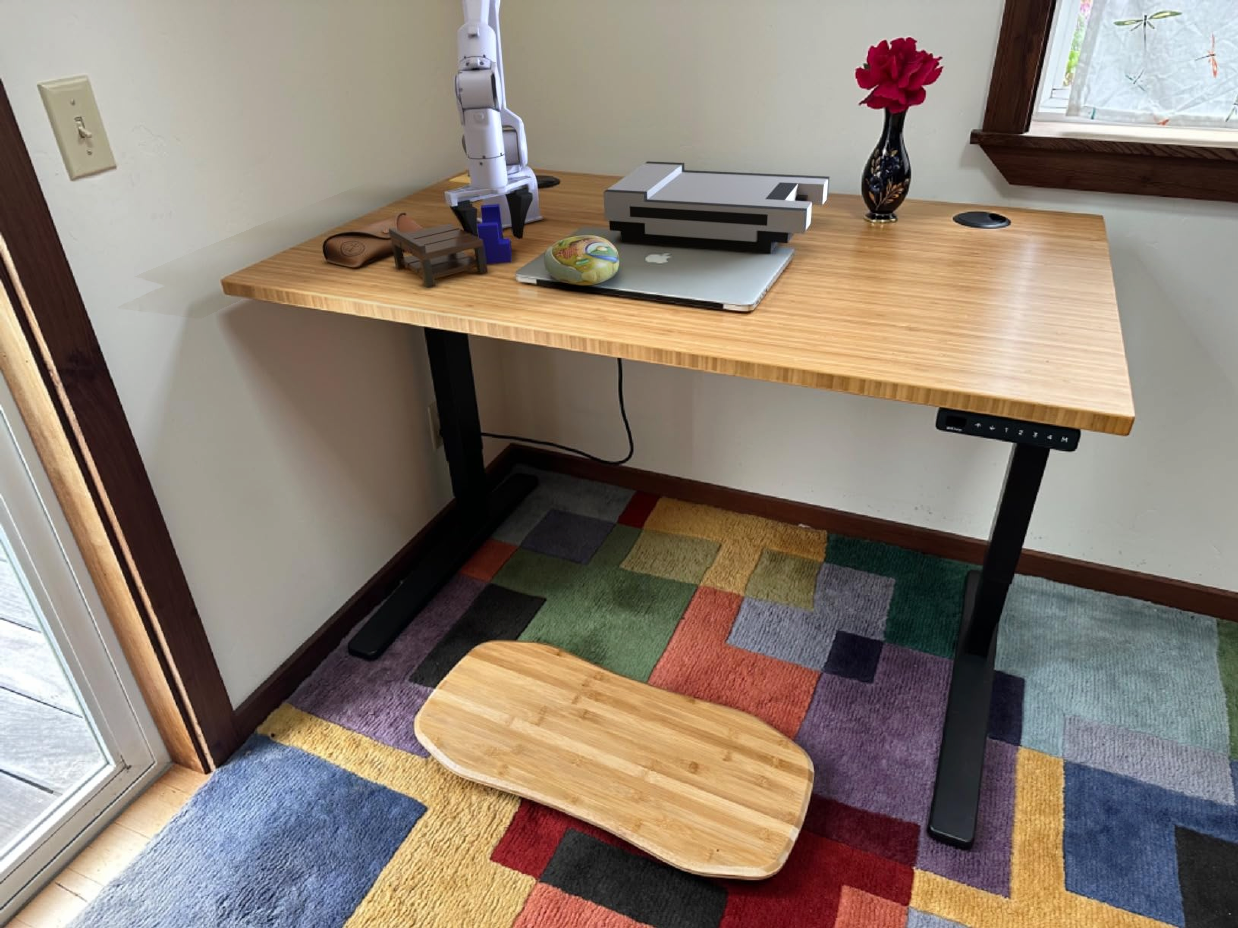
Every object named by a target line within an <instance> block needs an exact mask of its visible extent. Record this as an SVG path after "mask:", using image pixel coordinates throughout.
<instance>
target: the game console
mask: <svg viewBox="0 0 1238 928" xmlns="http://www.w3.org/2000/svg"><path fill="white" fill-rule="evenodd" d="M830 178H831V177H830V176H827V175H825V176H824V175H804V174H803V175H802V174H783V173H781V174H779V173H762V172H761V173H760V172H759V173H758V172H735V171H716V170H714V171H712V170H692V169H691V170H689V169H688V170H687V169H685V162H671V161H649V160H647V161H646V162H644V163H643V164H641V165H640V166H638V167H637V168H636V169H634V170H633V171H631V172H629V174H627V175H625V176H624V177H623V178H621V179H620V180H619V181H617V182H615V183H614V184H612V185H611V186H609V187H608V188H606V189H605V190H604V191H603V208H604V210H603V211H604V221H608V226H609V231H610V232H620V243H628V244H639V245H650V246H651V245H652V246H653V245H654V246H667V247H680V248H693V249H705V250H706V249H707V250H719V251H733V252H747V253H758V254H759V253H760V254H772V252H774V250H775V249H776V247H777V246H778V244H779V243H781V244H788V243H789V242H790V240H791V239H792V238H793V236H794V235H795V234H802V235H804V234H805V233H806V231H807V229H808V228H809V227H810V225H811V221H812V209H813V206H824V204H825V202H826V201H827V199H828V198H829V189H830ZM812 205H813V206H812Z"/></svg>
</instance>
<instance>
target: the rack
mask: <svg viewBox="0 0 1238 928" xmlns="http://www.w3.org/2000/svg"><path fill="white" fill-rule="evenodd" d="M389 234H390V236H391V242H392V243H391V244H392V250H393V254H392V255H393V259H394V265H395V268H396V269H398V270H402V269H403V270H404V269H406V268H408V269H409V270H411V271H413V273H416V274H417V275H419V276H420V277H422V283H423V287H425V288H433V287H435V279H439V278H442V277H445V276H451V275H454V274H457V273H462V272H466V271H470V270H474V269H476V272H477V273H478V274H480V275H481V274H486V273H488V264H486V256H485V249H484V245H483V240H482V239H480V238H479V236H478V237H476V236H474V235H471V234H470V233H468V232H466V231H464V230H463V228H462V229H461V228H460V227H457V226H456V225H454V224H451V223H445V224H441V225H437V226H436V225H435V226H432V227H427V228H424V229H422V230H418V231H413V232H409V233H402V232H400V231H398V230H396V229H395V228H389ZM402 249H403V250H404V251H405V252H407V253H408V254H409V255H407V256H405V255H404V251H403V250H402ZM468 250H473V251H474V257H473V256H470V255H469V254H466V253H465V251H468Z"/></svg>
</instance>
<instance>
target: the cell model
mask: <svg viewBox="0 0 1238 928" xmlns="http://www.w3.org/2000/svg"><path fill="white" fill-rule="evenodd" d="M543 260H544V261H543V262H544V267H545V270H546V271H547V273H548V274H549V275H550V276H551V277H552V278H554V279H555V280H557V281H559V282H561V283H566V284H569V285H575V286H594V285H598V284H601V283H604V282H607V281H608V280H610V279H612V278H613V277H614V276H615V275H616V274H617V272H618V270H619V266H620V255H619V252H618V250H617V247H616V246H615V245H614V244H613V243H612V242H611V241H610V240H608V239H607V238H604V237H601V236H597V235H591V234H590V235H576V236H571V237H566V238H563V239H560V240H558V241H556V242H555V243H553V244H551V245H550V247H548V249H547V250H546V252H545V254H544V259H543Z"/></svg>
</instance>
